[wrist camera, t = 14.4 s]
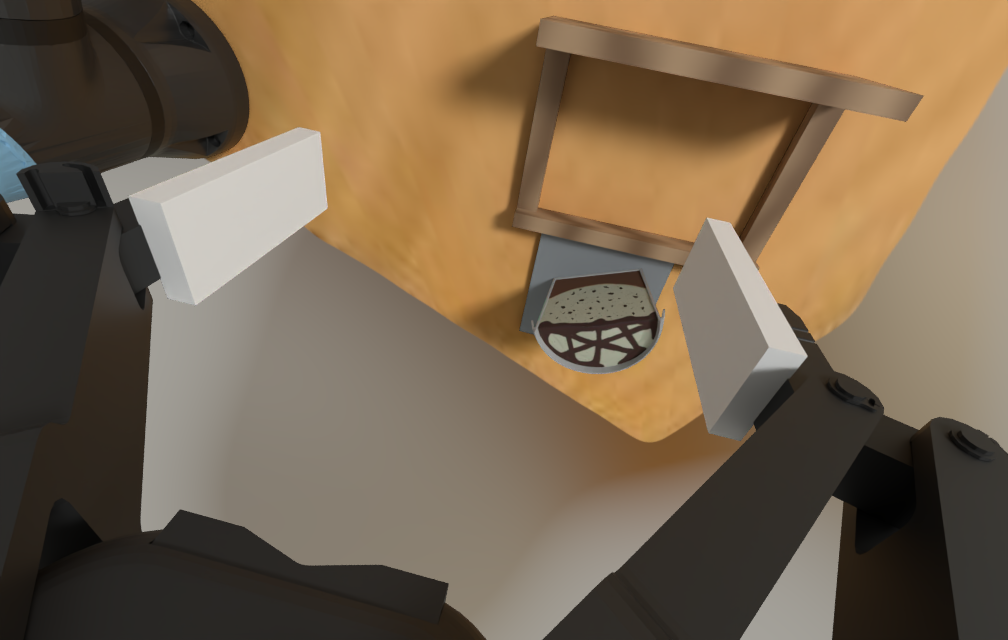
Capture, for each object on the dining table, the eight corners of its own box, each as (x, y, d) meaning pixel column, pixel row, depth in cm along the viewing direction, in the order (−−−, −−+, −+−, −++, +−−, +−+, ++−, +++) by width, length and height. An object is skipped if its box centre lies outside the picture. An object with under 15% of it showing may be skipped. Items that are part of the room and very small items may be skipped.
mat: (520, 327, 54) (519, 330, 53) (543, 225, 45) (543, 227, 45) (630, 354, 53) (631, 357, 53) (675, 255, 45) (676, 257, 44)
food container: (549, 323, 52) (540, 381, 44) (540, 279, 49) (528, 332, 41) (658, 314, 49) (669, 375, 41) (656, 266, 45) (667, 322, 37)
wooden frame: (516, 216, 45) (500, 256, 38) (553, 15, 35) (540, 18, 28) (744, 268, 44) (772, 319, 37) (855, 76, 34) (923, 95, 26)
